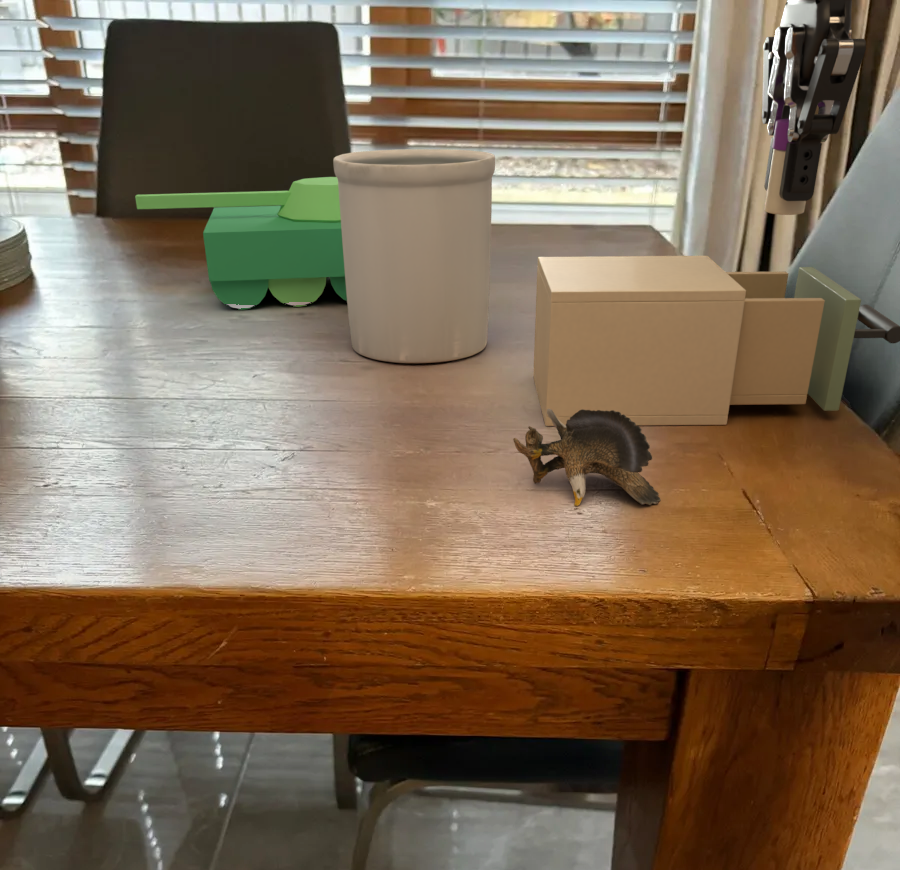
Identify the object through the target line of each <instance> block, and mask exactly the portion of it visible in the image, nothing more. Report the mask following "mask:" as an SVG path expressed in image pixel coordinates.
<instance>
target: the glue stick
mask: <svg viewBox="0 0 900 870" xmlns="http://www.w3.org/2000/svg"><path fill="white" fill-rule="evenodd" d="M788 127H789V119H779V120H777V121H776V126H775V132H774V136H773V137H774V139H773V146H772V148H773V155H772V162H771V169H770V175H769V182H768V189H767V191H766V197H765V201H764V202H765V204H764V212H766V213H768V214H772V215H781V216H785V215H786V216H794V215H795V216H797V215H802V214H804V213H805V210H806V203H807V201H786V200H784V199H782V198H781V197H780V195H779V192H780V185H781V179H782V172H783V166H784V159H785V152H786V146H787V143H794V142H789V141H788V136H787V132H788Z"/></svg>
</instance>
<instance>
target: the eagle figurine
mask: <svg viewBox="0 0 900 870" xmlns="http://www.w3.org/2000/svg"><path fill="white" fill-rule="evenodd" d="M547 415H548V416H549V417H550V419H551V420H552V423H553V425H554V426H553V427H554V428H555V429H556V430H557V433H558V436H559V438H560V439H559V440H554V441H550V442H549V443H547V442H546V443H543V440H544V436H543V434H542V433H540V432H539V431H538V430H537V429H536V428H535V427H532V426H530V425H528V427H527V429H528V430H527V431H526V434H525V436H524V437H525V439H524V440H525V444H523V443H522V442H521V441H520V440H519V439H518V438H516V437H514V438H513V439H512V440H513V443H514V446H515V449H516V450H517V451H518V452H519V453H520V454H522V455H523V456H525V457H526V458H527V460H528V462H529V465H530V467H531V469H532V473H533V476H532V482H533V484H537V483H541V481H542V479H544V477H546V476H547V475H548V473H552V472H553V471H555V470H557V471H558V470H561V469H564V472H565V475H566V478H567V479H568V481H569V483H570V486H571V488H572V493H573V497H574V504H573V506H574V507H578V506H580V505H581V502H582V500H583V499H584V497H585V495H586V490H587V489H586V487H587V486H586V475H588V474H598V475H601V476H604V478H607V479H608V480H610V481H611V482H612V483H614V484H616V485H617V486H619V488H622V489H623V490H624V491H625V492H626V493H627V494H628V495H629V496H630V497H631V498H632V499H633V500H634V501H636V502H637V503H639V504H640V505H642V506H644V505H645V504H646V505H647V506H652V504H654V505H658V504H659V502H661V500H662V499H661V497H659V496H660V493H659V492H658V491H657V490H655V488H654V487H653V486H652V485H651V484H650V482H649V481H647V480H646V478H645V477H643V476H642V475H641V474H640V473H641V472H643V467H644V468H645V467H649V462H650V461H652V460H653V455H652V453H651V452H650V451H649V449H650V448H651V444H650V443H649V442H648V441H647V436H646V435H645V434H644V433H643V432H642V428H641V427H640V426H639V425H636V424H635V422H632V421H631V419H630V418H628V417H626V416H625V415H624V414H623V415H621V413H620V412H616V411H614V410H611V411H600V410H597V411H594V410H593V411H591V410H583V409H582V410H579V411H578V412H577V413H575V414H574V415H573V416H572V417H570V420H567V423H566V426H565V425H564V424H562V423H561V422H560V421H559V420H558V419H557V417H556V415H555V414H554V412H553V411H552V410H551V409H547ZM553 455H554V457H553V458H552V459H550V460H548V461H547V462H545V463H544V462H543V461H542V457H544V456H545V457H546V456H547V457H548V456H553Z"/></svg>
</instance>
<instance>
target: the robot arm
mask: <svg viewBox="0 0 900 870" xmlns="http://www.w3.org/2000/svg"><path fill="white" fill-rule="evenodd" d="M852 6H853V0H786V3H785V5H784V9H783V13H782V17H781V21H780V26H778V27H777V28H776V29H775V33H774V34H775V35H774V36H766V38H765V40H764V43H763V45H762V50H763V61H762V65H763V68H762V107H761V108H762V112H761V121H762V124H763V125H767V133H768V135H769V136H770V137H771V138H770V143H769V144H770V145H769V151H768V159H767V165H766V172H765V178H764V185H763V186H764V190H765V191H766V192H767V189H768V182H769V175H770V169H771V162H772V155H773V148H772V146H773V139H774V132H775V126H776V121H777V120H779V119H789V127H788V132H787V136H788V141H789V142H794V143H787V146H786V152H785V159H784V166H783V172H782V179H781V185H780V192H779V195H780V197H781V198H782V199H784V200H786V201H806V202H807V201H810V200H811V199H812V198H813V196H814V193H815V188H816V187H815V186H816V182H817V181H816V180H817V176H818V169H819V163H820V157H821V151H822V145H823V143H826V142H827V140H828V138H829V135H837V134H838V133H839V131H840V129H841V125H842V123H843V119H844V117H845V114H846V110H847V108H848V104H849V101H850V99H851V95H852V93H853V90H854V87H855V83H856V80H857V77H858V76H859V75H858V74H859V72H860V68H861V65H862V62H863V60H864V57H865V53H866V49H867V41H866V39H865V38H852V34H853V30H852ZM817 108H818V112H817V111H816V110H817ZM816 112H817V113H816ZM772 136H773V137H772Z"/></svg>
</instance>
